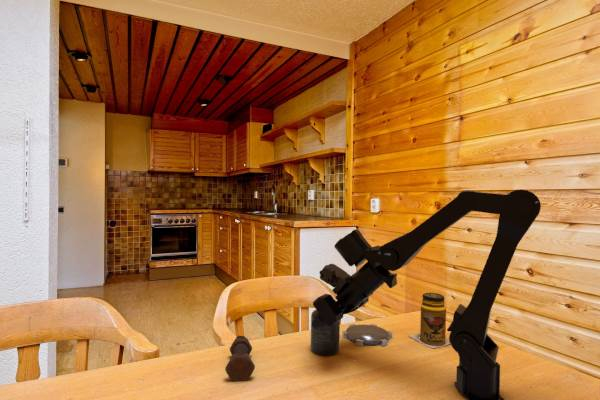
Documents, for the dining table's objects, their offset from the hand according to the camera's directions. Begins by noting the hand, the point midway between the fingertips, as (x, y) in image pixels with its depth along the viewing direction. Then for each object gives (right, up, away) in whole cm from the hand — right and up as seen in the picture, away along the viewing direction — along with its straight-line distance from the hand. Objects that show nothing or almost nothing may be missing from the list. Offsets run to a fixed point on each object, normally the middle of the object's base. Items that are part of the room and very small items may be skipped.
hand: (320, 321), depth 86 cm
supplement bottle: (+1, -7, -1) cm, 7 cm away
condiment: (+29, -7, +7) cm, 30 cm away
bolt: (-18, -7, -8) cm, 21 cm away
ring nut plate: (+13, -7, +8) cm, 16 cm away
